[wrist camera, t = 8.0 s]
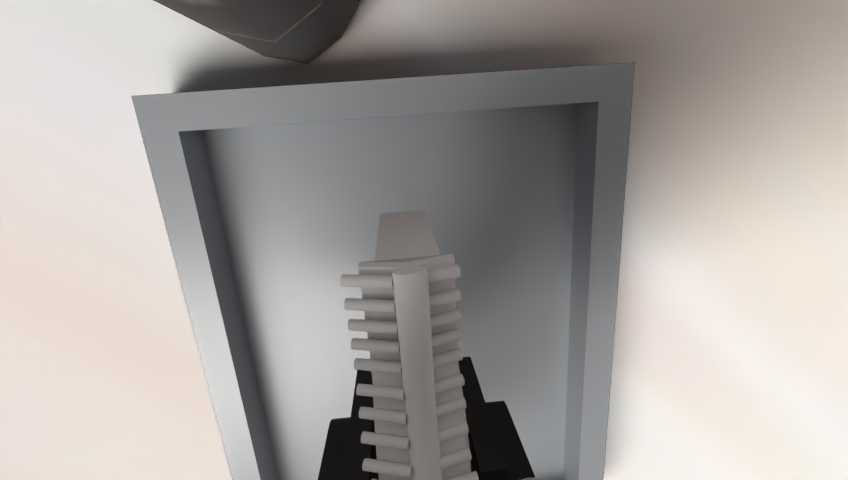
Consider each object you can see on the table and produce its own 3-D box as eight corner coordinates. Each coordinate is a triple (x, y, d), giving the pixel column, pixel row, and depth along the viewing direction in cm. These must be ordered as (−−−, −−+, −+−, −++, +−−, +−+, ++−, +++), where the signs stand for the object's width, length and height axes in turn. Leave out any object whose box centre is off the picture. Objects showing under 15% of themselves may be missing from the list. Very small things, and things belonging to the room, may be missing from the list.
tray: (600, 70, 13) (634, 62, 12) (578, 489, 19) (599, 532, 17) (170, 99, 13) (131, 96, 11) (271, 525, 18) (256, 574, 16)
